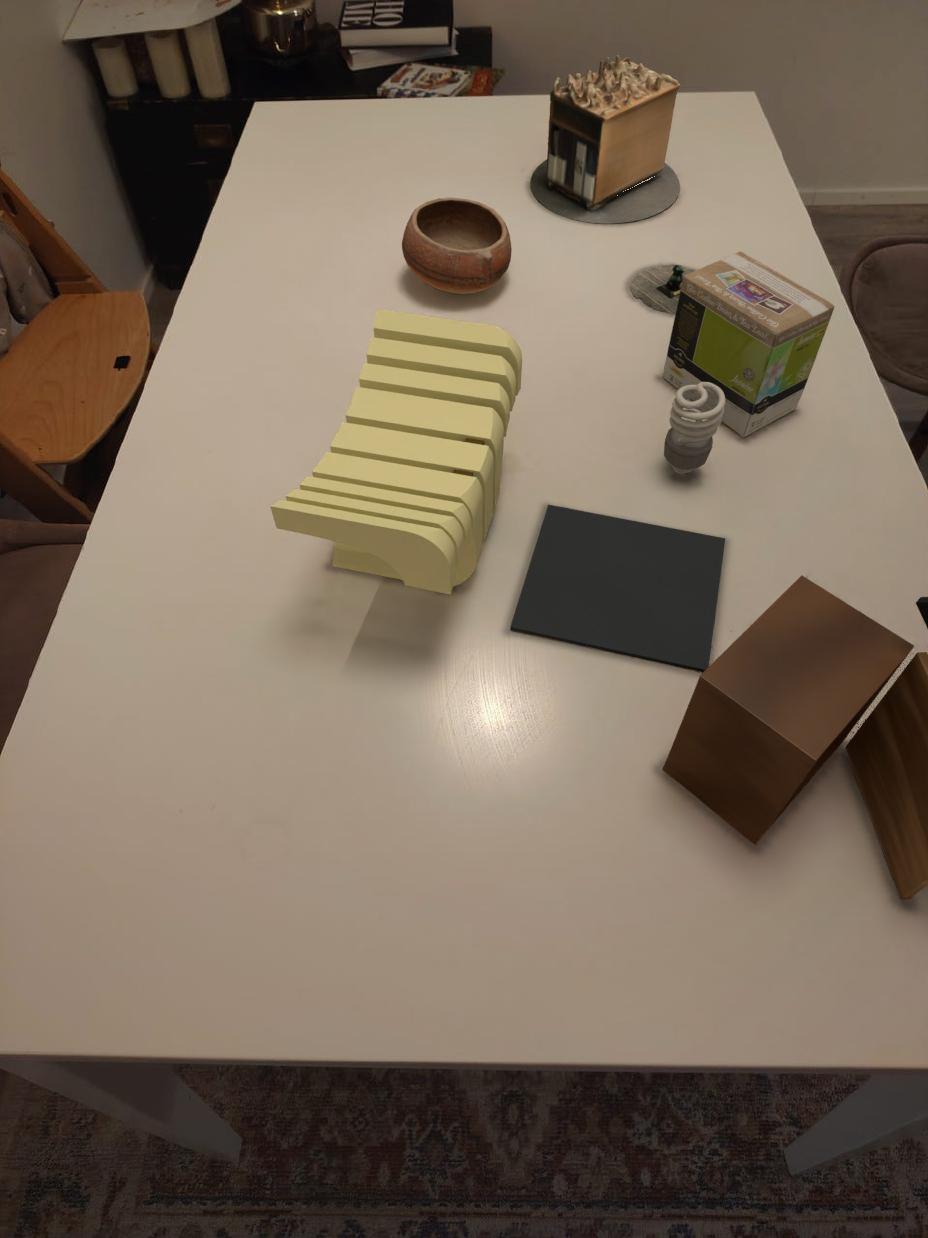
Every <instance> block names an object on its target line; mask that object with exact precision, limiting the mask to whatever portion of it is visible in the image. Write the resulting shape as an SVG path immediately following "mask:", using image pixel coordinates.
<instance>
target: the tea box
mask: <svg viewBox="0 0 928 1238" xmlns="http://www.w3.org/2000/svg"><path fill="white" fill-rule="evenodd" d="M695 270H696V271H693V272H691V273H688V274H686V275H684V276H683V281H682V286H681V290H680V295H679V299H678V304H677V309H676V313H675V315H674V319H673V324H672V328H671V334H670V337H669V343H668V347H667V352H666V358H665V362H664V367H663V372H662V378H663V379H664V380H666V381H667V382H668V383H670V384H671V385H673V387H676V388H677V390H679V389H680V388H681V387H683V386H687V385H698V384H699V383H701V382H709V383H713V384H714V385H716V386H718V387H719V388H720V389H721V390H722V391H723V393H724V395H725V405H724V413H723V416H722V420H721V422H722V423H724V424H726V425H727V426H728V427H730V428H731V429H732V430H733V431H735V432H736V433H737V434H739V435H740V436H742V437H743V438H744V437H747V436H750V435H751V434H753V433H754V432H756V431H758V430H760V429H762V428H764V427H766V426H768V425H770V424H772V423H773V422H775V421H777V420H778V419H781V418H783V417H784V416H786V415H788V414H789V413H791V412H793V411H795V410H796V408H797V407H798V405H799V403H800V401H801V399H802V396H803V393H804V390H805V388H806V386H807V383H808V380H809V377H810V375H811V373H812V369H813V368H814V367H813V366H814V364H815V362H816V359H817V356H818V353H819V350H820V347H821V345H822V342H823V340H824V337H825V335H826V332H827V329H828V327H829V325H830V321H831V319H832V315H833V312H834V310H835V305H834V304H833V303H832V302H830V301H828V300H827V299H825V298H823V297H821V296H819V295H818V294H815V293H814V292H813V291H810V290H809V289H807V288H806V287H803V286H802V285H800V284H799V283H796V282H795V281H793V280H791V279H789V278H788V277H786V276H785V275H783V274H782V273H780V272H778V271H776V270H774V269H773V268H771V267H769V266H767V265H766V264H764V263H762V262H761V261H758V260H757V259H756V258H753V257H751V256H749V255H748V254H746V253H745V252H743V251H738V252H736V253H733V254H731V255H728V256H726V257H724V258H722V259H719V260H717V261H715V262H712V263H710V264H707V265H705V266H703V267H700V268H698V269H695ZM685 393H698V392H696V391H690V392H685ZM708 397H709V396H708ZM709 398H710V397H709ZM711 399H712V398H711ZM712 400H713V399H712ZM693 401H697V400H693ZM713 401H714V400H713ZM704 405H706V406H708V405H707V404H705V403H704ZM708 407H709V408H710V406H708ZM710 409H711V408H710Z"/></svg>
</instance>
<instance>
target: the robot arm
mask: <svg viewBox="0 0 928 1238" xmlns="http://www.w3.org/2000/svg"><path fill="white" fill-rule="evenodd" d="M915 605H916V607H917V610H918V611H919V613H920V616H921V618H922V620H923V622H924V624H925V626H926V629H927V630H928V596H920V597H919V598H918V599H917V600H916V602H915Z"/></svg>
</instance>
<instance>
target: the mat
mask: <svg viewBox="0 0 928 1238" xmlns="http://www.w3.org/2000/svg"><path fill="white" fill-rule="evenodd" d="M725 544H726V538H725V537H721V536H715V535H710V534H704V533H699V532H695V531H689V530H683V529H678V528H674V527H668V526H664V525H658V524H653V523H652V524H651V523H647V522H642V521H638V520H632V519H626V518H621V517H616V516H610V515H605V514H601V513H596V512H595V513H594V512H589V511H585V510H579V509H575V508H569V507H563V506H559V505H553V504H547V507H546V510H545V514H544V517H543V521H542V524H541V527H540V530H539V532H538V536H537V540H536V543H535V546H534V549H533V553H532V556H531V559H530V562H529V565H528V568H527V571H526V574H525V578H524V582H523V585H522V588H521V592H520V595H519V598H518V600H517V604H516V608H515V611H514V614H513V617H512V620H511V624H510V626H509V630H510V631H513V632H516V633H522V634H525V635H530V636H536V637H540V638H544V639H548V640H554V641H558V642H563V643H567V644H572V645H576V646H581V647H585V648H589V649H590V648H591V649H595V650H598V651H603V652H608V653H613V654H615V655H616V654H617V655H621V656H625V657H631V658H635V659H640V660H643V661H648V662H654V663H656V664H657V663H658V664H663V665H666V666H671V667H675V668H681V669H685V670H689V671H694V672H699V673H703V672H704V671H705V670H706V669H707V668H708V667H709V666H710V659H711V652H712V645H713V644H712V643H713V637H714V630H715V629H714V628H715V622H716V615H717V607H718V598H719V592H720V591H719V590H720V584H721V583H720V582H721V575H722V569H723V560H724V552H725Z"/></svg>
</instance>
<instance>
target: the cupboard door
mask: <svg viewBox="0 0 928 1238" xmlns="http://www.w3.org/2000/svg"><path fill="white" fill-rule="evenodd" d="M844 749H845V752H846V754H847V758H848V760H849V763H850V766H851V768H852V771H853V774H854V776H855V779H856V781H857V784H858V786H859V791H860V793H861V795H862V797H863V800H864V803H865V806H866V809H867V811H868V814H869V816H870V819H871V822H872V825H873V827H874V830H875V832H876V833H875V834H876V835H877V838H878V841H879V844H880V846H881V848H882V852H883V854H884V857H885V859H886V862H887V866H888V868H889V870H890V873H891V875H892V879H893V881H894V884H895V886H896V889H897V892H898V895H899V897H900V899H901V900H910V899H912V898H913V897H915V896H916V895H917V894H918V893H920V892H921V891H923V890H924V889H925V888H926V887H928V652H927V651H919V652H916V653H915V654H914V656H913V657H912V658H911V659H910V661H909V662H908V664H907V665H906V666H905V667H904V669H903V670H902V672H901V673H900V674H899V676H898V677H897V678H896V679H895V681H894V682H893V683H892V685H891V686H890V687H889V688H888V690H887V691H886V692H885V694H884V695H883V696H882V698H881V699H880V700H879V702H878V703H877V705H876V706H875V707H874V708H873V709H872V711H871V712H870V714H869V715H868V716H867V718H866V719H865V720H864V721H863V723H862V724H861V725H860V727H859V728H858V729H857V730H856V731H855V733H854V734H853V736H852V737H851V738H850V740H849V741H848V743H847V744H846V745H845V746H844Z"/></svg>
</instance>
